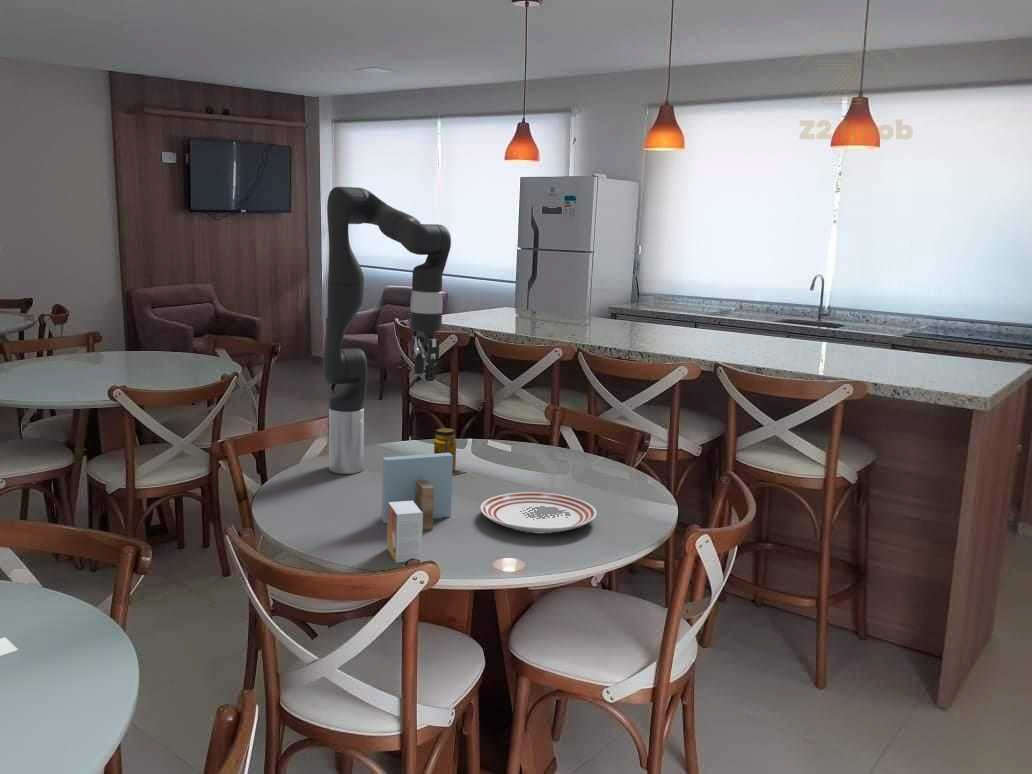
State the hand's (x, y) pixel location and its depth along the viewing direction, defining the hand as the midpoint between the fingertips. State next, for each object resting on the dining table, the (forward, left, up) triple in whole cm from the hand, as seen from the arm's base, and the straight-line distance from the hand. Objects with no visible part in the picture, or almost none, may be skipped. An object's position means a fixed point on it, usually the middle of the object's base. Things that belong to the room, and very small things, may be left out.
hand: (424, 377), depth 211 cm
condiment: (-22, +14, -32) cm, 41 cm away
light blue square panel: (+11, -5, -31) cm, 33 cm away
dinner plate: (+20, +22, -32) cm, 44 cm away
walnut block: (+11, -5, -31) cm, 34 cm away
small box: (+31, -14, -32) cm, 46 cm away
